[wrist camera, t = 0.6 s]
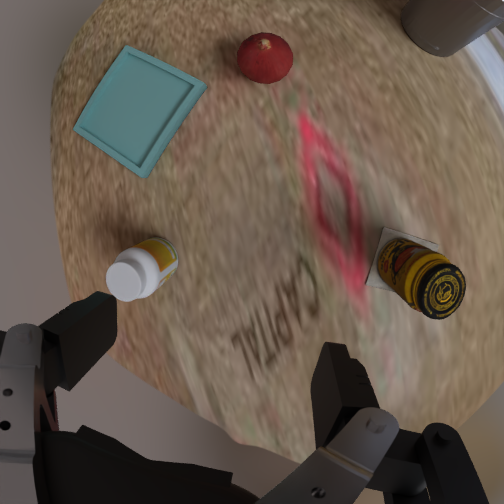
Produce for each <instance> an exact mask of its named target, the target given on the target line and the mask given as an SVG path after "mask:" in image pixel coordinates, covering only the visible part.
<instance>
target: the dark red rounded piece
mask: <svg viewBox="0 0 504 504" xmlns="http://www.w3.org/2000/svg"><path fill="white" fill-rule="evenodd" d="M237 62H238V65H239V67H240V69H241V71H242V73H243V74H245V75H246V76H247V77H248V78H249V79H250V80H252V81H255V82H257V83H263V84H271V83H274V82H277V81H279V80H281V79H282V78H283V77H285V76H286V75H287V73H288V72H289V70H290V68H291V67H292V65H293V53H292V51H291V49H290V47H289V45H288V43H287V42H286V41H285V40H283V39H282V38H281V37H280V36H277V35H275V34H272V33H263V32H262V33H258V34H254V35H251V36H250V37H248V38H247V39H246V40H244V41H243V42H242V44H241V46H240V48H239V50H238V52H237Z"/></svg>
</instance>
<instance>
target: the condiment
mask: <svg viewBox="0 0 504 504" xmlns="http://www.w3.org/2000/svg"><path fill="white" fill-rule="evenodd" d="M438 247H439V245H437V244H434V243H431V242H428V241H425V240H423V239H420V238H417V237H414V236H411V235H408V234H404V233H401V232H398V231H395V230H392V229H389V228H386V227H384V228H383V232H382V235H381V238H380V241H379V244H378V248H377V251H376V254H375V257H374V261H373V264H372V267H371V270H370V274H369V277H368V280H367V283H366V285H368V286H372V287H377V288H381V289H385V290H389V291H393V292H396V293H397V294H398V295H399V296H400V297H401V298H402V299H403V300H404V301H405V302H406V303H407V304H408V305H409V306H410V307H411V308H413V309H415V310H417V311H419V312H422V313H423V314H424V315H426V316H427V317H429V318H431V319H438V320H440V319H444V318H447V317H448V316H450V315H451V314H452V313H453V312H455V310H456V309H457V308H458V307H459V306H460V304H461V302H462V300H463V297H464V295H465V290H466V284H465V277H464V275H463V274H462V272H461V271H460V269H459V268H458V267H456V266H455V265H453V264H451V263H450V261H449V260H448V259H447V258H446V257H445V256H444V255H442V254H440V253H437V250H438Z"/></svg>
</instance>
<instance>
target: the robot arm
mask: <svg viewBox="0 0 504 504" xmlns="http://www.w3.org/2000/svg"><path fill="white" fill-rule="evenodd" d="M401 20H402V24H403V26H404V29H405V31H406V32H407V34H408V35H409V36H410V38H411V39H412V40H413V41H414V42H415V43H416V44H417V45H418V46H419V47H421V48H422V49H424V50H425V51H427V52H429V53H430V54H433V55H436V56H440V57H448V56H451V55H453V54H454V53H456V52H457V51H459V50H460V49H462V48H463V47H465V46H466V45H468V44H469V43H471V42H472V41H474V40H475V39H477V38H478V37H480V36H481V35H483V34H485V33H486V32H488V31H489V30H491V29H492V28H494V27H495V26H497V25H498V24H500V23H502V22H503V21H504V0H409V2H408V3H407V5H406V6H405V7H404V9H403V10H402V13H401ZM116 337H117V300H116V297H115V296H113V295H110V294H107V293H103V292H100V291H96V292H95V293H93V294H92V295H90V296H89V297H87V298H86V299H83V300H80V301H77V302H73V303H72V304H70V305H69V306H67V307H66V308H65V309H63V310H61V311H60V312H59V314H58V313H57V314H55V315H54V316H53V317H51V318H50V319H48V320H47V321H45V322H44V323H42V324H41V325H40V326H36V325H33V324H27V323H24V324H18V325H16V326H13V327H11V328H10V329H9V330H8V331H7V332H4V331H0V504H353V503H354V502H355V500H356V499H357V498H358V496H359V495H360V493H361V492H362V491H363V489H364V488H369V489H373V490H378V491H383V495H384V501H385V504H489V502H488V499H487V497H486V494H485V492H484V489H483V487H482V484H481V482H480V479H479V477H478V475H477V472H476V470H475V468H474V465H473V463H472V461H471V459H470V456H469V454H468V452H467V450H466V448H465V446H464V444H463V441H462V439H461V437H460V435H459V434H458V432H457V431H456V430H455V429H453V428H452V427H450V426H449V425H446V424H443V423H432V424H429V425H428V426H426V428H425V429H424V431H423V432H422V434H421V433H416V432H412V431H407V430H403V429H400V428H399V424H398V421H397V420H396V418H395V417H394V416H393V415H392V414H390V413H389V412H387V411H385V410H383V409H380V407H379V404H378V401H377V398H376V396H375V393H374V390H373V388H372V386H371V382H370V380H369V378H368V375H367V372H366V369H365V367H364V366H363V365H362V364H361V363H360V362H359V361H358V360H357V359H353V358H350V356H349V353H348V350H347V347H346V345H345V344H339V343H332V342H325V343H324V345H323V347H322V350H321V353H320V356H319V359H318V362H317V365H316V368H315V371H314V374H313V377H312V381H311V400H312V410H313V420H314V431H315V443H316V450H315V451H314V452H313V453H312V454H311V455H310V456H309V457H308V458H307V459H306V460H305V461H304V462H303V463H302V464H301V465H300V466H298V467H297V468H296V469H295V470H294V471H293V472H292V473H291V474H289V475H288V476H287V477H286V478H285V479H284V480H283V481H281V483H279V484H278V485H277V486H275V487H274V488H273V489H272V490H271V491H269V492H268V493H267V494H266V495H264V496H263V497H262V498H261V499H260V498H258V497H257V496H256V495H254V494H252V493H251V492H249V491H247V490H245V489H243V488H241V487H239V486H237V485H235V484H232V483H231V480H232V475H233V473H232V472H227V471H222V470H217V469H212V468H208V467H203V466H199V465H195V464H186V463H173V462H164V461H153V460H149V459H147V458H145V457H143V456H141V455H140V454H138V453H136V452H135V451H133V450H131V449H130V448H128V447H126V446H125V445H124V444H122V443H120V442H119V441H118V440H116V439H114V438H112V437H110V436H107V435H105V434H102V433H100V432H98V431H96V430H93V429H91V428H89V427H87V426H84V425H82V426H81V427H80V429H79V430H78V431H77V432H76V433H74V432H67V431H59V423H58V413H57V401H56V392H55V388H56V387H57V386H60V387H61V388H64V389H65V390H68V391H70V390H71V389H72V388H73V387H74V386H75V385H76V384H77V383H78V382H79V381H80V380H81V378H82V377H83V376H84V375H85V374H86V373H87V372H88V371H89V370H90V369H91V367H93V366H94V365H95V364H96V362H97V361H98V360H99V359H100V358H101V357H102V356H103V355H104V354H105V353H106V352H107V351H108V350H109V349H110V348H111V347H112V346H113V344H114V342H115V340H116ZM426 487H427V488H426ZM427 489H428V492H429V495H428V492H427ZM429 496H430V499H429Z"/></svg>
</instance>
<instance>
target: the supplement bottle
mask: <svg viewBox="0 0 504 504" xmlns="http://www.w3.org/2000/svg"><path fill="white" fill-rule="evenodd" d="M177 266H178V256H177V252H176V250H175V248H174V247H173V245H172V244H171V243H170V242H168V241H167V240H165V239H163V238H158V237H154V238H150V239H147V240H145V241H143V242H141V243H139V244H137V245H135V246H132V247H130V248H128V249H126V250H124V251H123V252H121V253H120V254H119V255H118V256H117V258H116V259H115V262H114V264H112V265H111V266H110V267H109V269H108V271H107V274H106V283H107V286H108V289H109V290H110V292H111V293H112V294H113V295H114V296H115V297H116V298H117V299H119V300H122V301H132V300H134V299H136V298H144V297H147V296H149V295H151V294H152V293H153V292H154V291H155V290H157V289H158V288H159V287H160V286H161V285H162V284H163V283H164V282H165V281H166V280H168V279H169V278H170V277H171V276H172V275H173V274H174V272H175V271H176V269H177Z"/></svg>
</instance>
